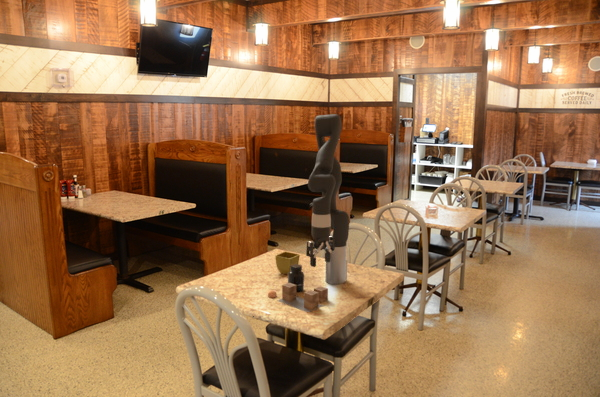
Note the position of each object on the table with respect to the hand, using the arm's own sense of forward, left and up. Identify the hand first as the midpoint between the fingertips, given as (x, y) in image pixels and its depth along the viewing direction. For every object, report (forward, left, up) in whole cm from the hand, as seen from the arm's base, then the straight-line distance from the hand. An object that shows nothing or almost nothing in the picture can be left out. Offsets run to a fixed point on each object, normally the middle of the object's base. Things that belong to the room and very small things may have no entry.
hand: (320, 264), depth 194 cm
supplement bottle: (-1, -15, -16) cm, 22 cm away
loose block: (0, 0, -16) cm, 16 cm away
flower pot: (-17, -36, -16) cm, 43 cm away
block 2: (+8, +3, -15) cm, 17 cm away
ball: (+11, -17, -16) cm, 26 cm away
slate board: (+8, -3, -16) cm, 19 cm away
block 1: (+8, -9, -15) cm, 19 cm away
